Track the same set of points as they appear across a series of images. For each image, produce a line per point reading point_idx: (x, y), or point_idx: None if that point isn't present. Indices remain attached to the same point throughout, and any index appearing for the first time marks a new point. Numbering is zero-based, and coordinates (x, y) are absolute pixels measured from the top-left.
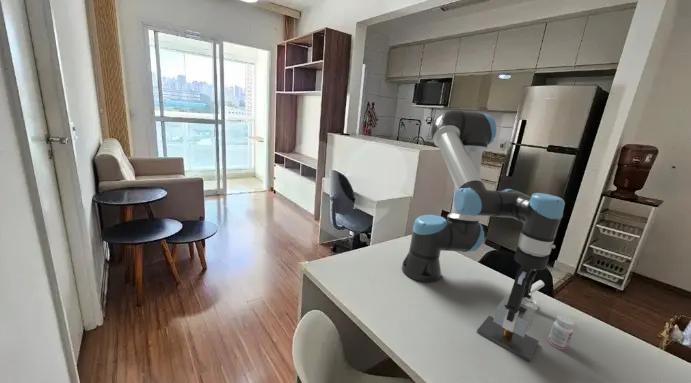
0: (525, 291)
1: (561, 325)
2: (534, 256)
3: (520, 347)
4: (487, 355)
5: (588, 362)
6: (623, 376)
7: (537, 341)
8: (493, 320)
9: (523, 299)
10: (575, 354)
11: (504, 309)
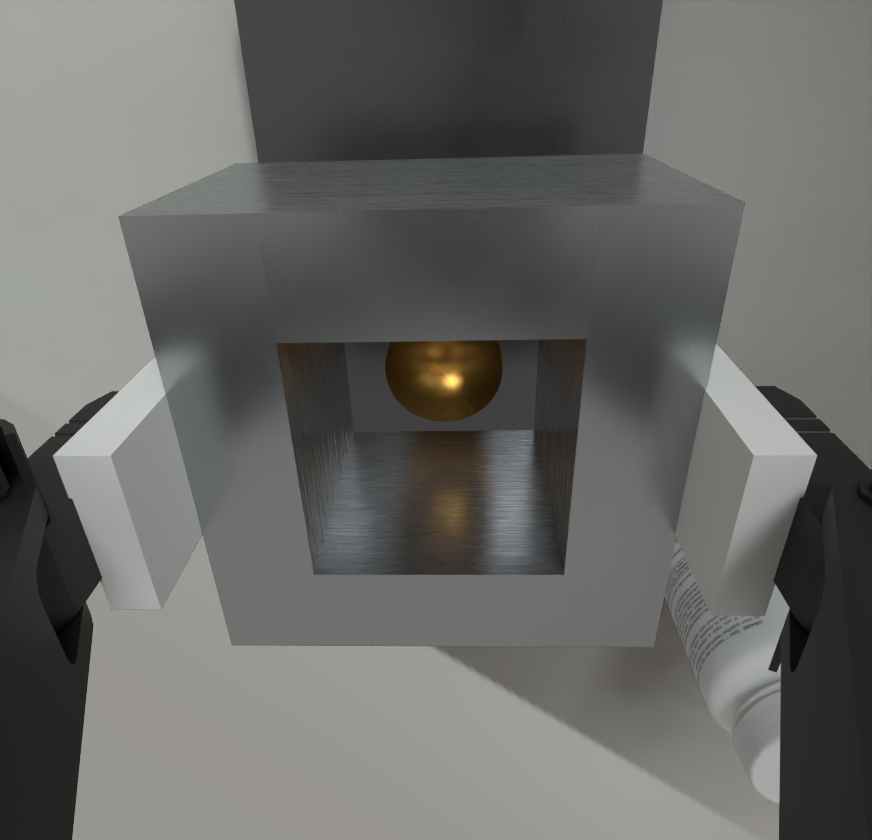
0: (793, 734)
1: (740, 712)
2: None
3: (375, 403)
4: (52, 223)
5: (651, 681)
6: (665, 778)
7: None
8: (227, 167)
9: (711, 561)
10: (678, 633)
11: (174, 348)
